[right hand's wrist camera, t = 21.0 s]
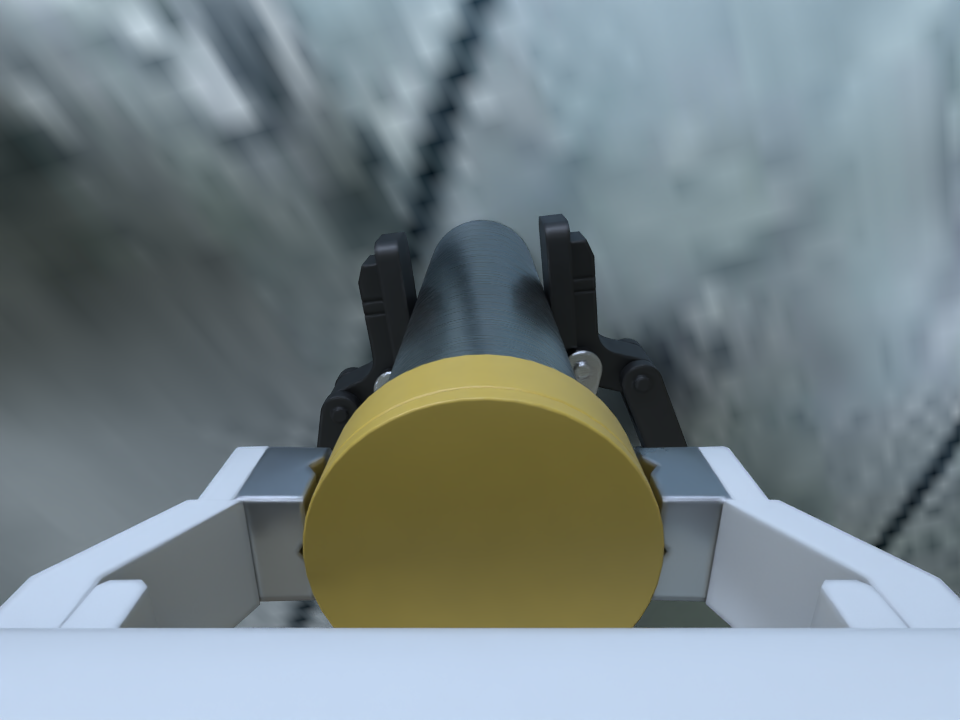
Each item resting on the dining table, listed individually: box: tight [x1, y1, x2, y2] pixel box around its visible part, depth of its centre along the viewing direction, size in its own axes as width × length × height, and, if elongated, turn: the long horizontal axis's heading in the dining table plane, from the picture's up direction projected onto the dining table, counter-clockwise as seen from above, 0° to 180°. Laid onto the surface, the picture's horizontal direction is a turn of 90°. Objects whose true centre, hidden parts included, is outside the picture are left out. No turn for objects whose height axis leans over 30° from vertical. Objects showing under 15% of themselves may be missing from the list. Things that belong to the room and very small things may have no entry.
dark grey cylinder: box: [388, 220, 577, 382], centre depth 17 cm, size 4×4×17 cm
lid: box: [303, 354, 664, 628], centre depth 9 cm, size 5×5×2 cm
